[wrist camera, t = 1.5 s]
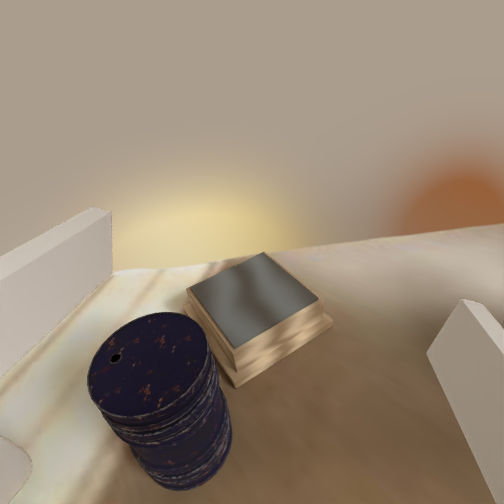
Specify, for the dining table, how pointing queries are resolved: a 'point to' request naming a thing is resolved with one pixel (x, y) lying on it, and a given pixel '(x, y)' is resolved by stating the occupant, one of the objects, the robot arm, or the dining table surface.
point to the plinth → (263, 343)
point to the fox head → (12, 469)
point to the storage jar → (164, 398)
